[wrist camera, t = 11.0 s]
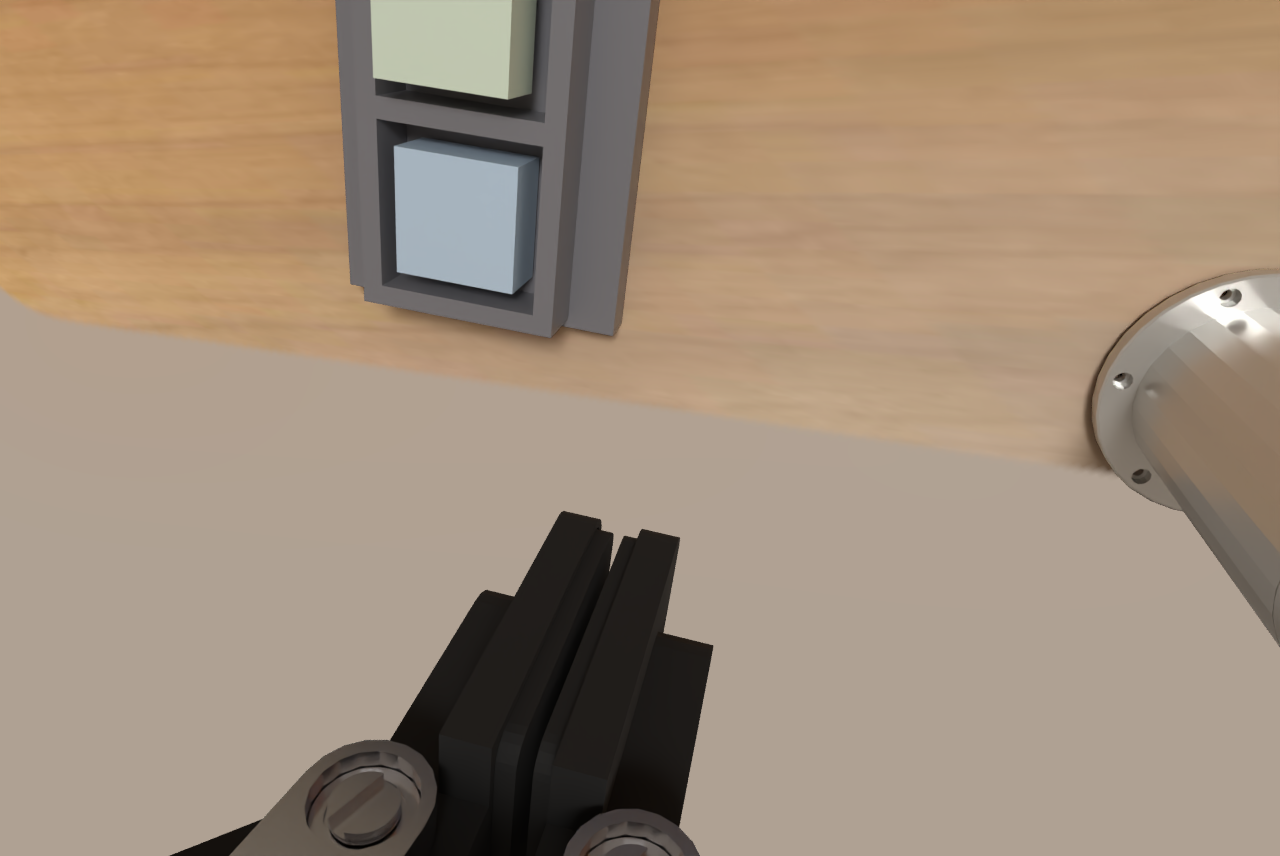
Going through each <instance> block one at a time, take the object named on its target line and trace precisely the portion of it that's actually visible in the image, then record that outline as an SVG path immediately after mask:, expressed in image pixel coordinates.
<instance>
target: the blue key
mask: <svg viewBox="0 0 1280 856" xmlns="http://www.w3.org/2000/svg"><path fill="white" fill-rule="evenodd" d="M539 158H540V157H536V156H530V155H524V154H518V153H512V152H506V151H500V150H494V149H489V148H483V147H477V146H471V145H465V144H459V143H453V142H447V141H442V140H436V139H430V138H424V137H423V138H419V139H416V140H412V141H409V142H406V143H402V144H399V145H395V146H394V171H395V212H396V254H397V272H400V273H405V274H410V275H415V276H420V277H425V278H430V279H436V280H441V281H446V282H451V283H456V284H461V285H467V286H472V287H477V288H482V289H487V290H492V291H498V292H503V293H508V294H513V293H514V292H516V291H517V290H518V289H519V288H520V287H521V286H522V285H524V284H525V283H526V282H527V281H528V280H529V279H531V278H532V276H533V259H534V242H535V225H536V209H537V192H538V175H539Z"/></svg>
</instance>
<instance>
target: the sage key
mask: <svg viewBox="0 0 1280 856" xmlns="http://www.w3.org/2000/svg"><path fill="white" fill-rule="evenodd" d="M370 1H371V30H372V59H373V78H377V79H384V80H390V81H396V82H402V83H408V84H415V85H421V86H427V87H433V88H439V89H446V90H452V91H458V92H464V93H471V94H477V95H483V96H489V97H495V98H502V99H512V98H516V97H520V96H524V95H528V94H531V93H532V78H533V60H534V41H535V22H536V3H537V0H370Z"/></svg>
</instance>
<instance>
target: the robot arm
mask: <svg viewBox="0 0 1280 856" xmlns="http://www.w3.org/2000/svg"><path fill="white" fill-rule="evenodd" d="M1226 290H1228V292H1227V294H1226V295H1225V296H1223V297H1220V295H1221V294H1222V293H1223V292H1224V291H1226ZM1120 373H1123V374H1122V376H1121V377H1119V378H1115V377H1116V375H1118V374H1120ZM1092 424H1093V428H1094V433H1095V438H1096V441H1097V443H1098V445H1099V447H1100V449H1101V451H1102V453H1103V455H1104V457H1105V459H1106V460H1107V462H1108V463H1109V465H1110V466H1111V468H1112V469H1113V471H1114V472H1115V474H1116V475H1117V476H1118V477H1119V478H1120V479H1121V480H1122V481H1123V482H1124V483H1125V484H1126V485H1127V486H1128V487H1130V488H1131V489H1132V490H1134V491H1136V492H1137V493H1139V494H1140V495H1142V496H1144V497H1146V498H1147V499H1149V500H1150V501H1153V502H1155V503H1158V504H1160V505H1163V506H1166V507H1168V508H1171V509H1174V510H1179V511H1183V512H1184V513H1185V514H1186V515H1187V517H1188V518H1189V519H1190V521H1191V522H1192V524H1193V525H1194V527H1195V528H1196V530H1197V531H1198V532H1199V534H1200V535H1201V537H1202V538H1203V539H1204V541H1205V542H1206V544H1207V545H1208V546H1209V548H1210V549H1211V551H1212V552H1213V554H1214V555H1215V556H1216V558H1217V559H1218V561H1219V562H1220V563H1221V565H1222V566H1223V568H1224V569H1225V570H1226V572H1227V573H1228V575H1229V576H1230V578H1231V579H1232V580H1233V582H1234V583H1235V585H1236V586H1237V587H1238V589H1239V590H1240V592H1241V593H1242V594H1243V596H1244V597H1245V599H1246V600H1247V602H1248V603H1249V604H1250V606H1251V607H1252V609H1253V610H1254V611H1255V613H1256V614H1257V615H1258V617H1259V618H1260V620H1261V621H1262V623H1263V624H1264V626H1265V627H1266V628H1267V630H1268V631H1269V633H1270V634H1271V635H1272V637H1273V638H1274V640H1275V641H1276V642H1277V644H1278V645H1279V647H1280V269H1255V270H1249V271H1243V272H1237V273H1231V274H1226V275H1223V276H1220V277H1217V278H1214V279H1210V280H1207V281H1204V282H1201V283H1198V284H1196V285H1194V286H1192V287H1190V288H1188V289H1185V290H1183V291H1181V292H1179V293H1177V294H1175V295H1173V296H1171V297H1169V298H1168V299H1166V300H1165V301H1163V302H1162V303H1161V304H1159V305H1158V306H1156V307H1155V308H1153V309H1152V310H1150V311H1149V312H1148V313H1146V314H1145V315H1144V316H1143V317H1142V318H1141V319H1139V320H1138V321H1137V322H1136V323H1135V324H1134V325H1133V326H1132V327H1131V328H1130V329H1129V330H1128V331H1127V332H1126V333H1125V334H1124V335H1123V336H1122V338H1121V339H1120V340H1119V342H1118V343H1117V344H1116V346H1115V347H1114V348H1113V350H1112V351H1111V352H1110V354H1109V355H1108V357H1107V359H1106V361H1105V363H1104V365H1103V367H1102V369H1101V371H1100V373H1099V375H1098V378H1097V382H1096V386H1095V390H1094V394H1093V397H1092ZM1137 470H1138V471H1137ZM601 526H602V525H601V520H600V519H596V518H591V517H587V516H583V515H579V514H574V513H570V512H566V511H563V512H561V513H560V515H559V516H558V518H557V520H556V522H555V524H554V526H553V527H552V529H551V531H550V533H549V535H548V536H547V538H546V540H545V542H544V544H543V545H542V547H541V549H540V551H539V553H538V555H537V556H536V558H535V560H534V562H533V564H532V566H531V567H530V569H529V571H528V573H527V575H526V576H525V578H524V580H523V582H522V584H521V586H520V587H519V590H518V591H517V593H516V595H515V596H514V597H513V596H509V595H505V594H501V593H497V592H492V591H488V590H485V591H484V592H482V593H481V594H480V595H479V597H478V598H477V599H476V601H475V602H474V604H473V606H472V607H471V609H470V611H469V612H468V614H467V615H466V617H465V619H464V620H463V622H462V624H461V625H460V627H459V629H458V630H457V632H456V633H455V635H454V637H453V638H452V640H451V641H450V643H449V645H448V646H447V648H446V650H445V651H444V653H443V655H442V656H441V658H440V659H439V661H438V663H437V665H436V666H435V668H434V669H433V671H432V673H431V674H430V676H429V678H428V679H427V681H426V682H425V684H424V686H423V687H422V689H421V691H420V692H419V694H418V695H417V697H416V699H415V700H414V702H413V704H412V705H411V707H410V709H409V710H408V712H407V713H406V715H405V717H404V718H403V720H402V722H401V723H400V725H399V726H398V728H397V730H396V731H395V733H394V735H393V736H392V738H391V740H390V741H389V740H364V741H361V742H356V743H352V744H349V745H344V746H342V747H341V748H338V749H336V750H335V751H333V752H331V753H329V754H327V755H325V756H323V757H322V758H321V759H320V760H319V761H317V762H316V763H315V764H314V765H313V766H312V767H310V768H309V769H308V770H307V771H306V772H305V773H304V774H303V775H302V776H301V777H300V778H299V780H298V781H297V782H296V783H295V784H294V785H293V786H292V787H291V788H290V789H289V791H288V792H287V793H286V794H285V795H284V796H283V797H282V798H281V799H280V801H279V802H278V803H277V804H276V805H275V806H274V807H273V808H272V809H271V810H270V811H269V813H268V814H267V815H266V816H265V817H264V818H263V819H261V820H259V821H256V822H254V823H251V824H249V825H247V826H244V827H241V828H239V829H236V830H234V831H232V832H229V833H226V834H223V835H221V836H219V837H216V838H214V839H211V840H209V841H206V842H203V843H201V844H198V845H196V846H193V847H191V848H188V849H185V850H183V851H180V852H178V853H175V854H173V855H170V856H700V855H699V853H698V851H697V849H696V847H695V845H694V843H693V842H692V841H691V840H690V839H689V838H688V836H687V835H686V834H685V833H684V832H683V831H682V830H681V829H680V828H679V825H680V820H681V814H682V809H683V804H684V799H685V793H686V788H687V783H688V777H689V772H690V767H691V761H692V756H693V751H694V746H695V741H696V735H697V730H698V725H699V720H700V714H701V709H702V704H703V699H704V693H705V688H706V683H707V677H708V672H709V667H710V662H711V656H712V651H713V645H709V644H705V643H701V642H697V641H693V640H689V639H685V638H680V637H677V636H673V635H669V634H664V633H663V632H664V626H665V621H666V615H667V610H668V604H669V599H670V593H671V587H672V582H673V576H674V571H675V565H676V560H677V554H678V549H679V542H680V538H679V537H675V536H670V535H666V534H662V533H658V532H653V531H649V530H644V529H642V530H641V531H640V533H639V536H638V538H632V537H628V536H624V537H623V539H622V542H621V544H620V547H619V549H618V552H617V554H616V557H615V559H614V562H613V564H612V566H611V569H610V561H611V553H612V546H613V533H611V532H606V531H602V530H601ZM609 569H610V571H609Z"/></svg>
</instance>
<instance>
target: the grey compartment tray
mask: <svg viewBox="0 0 1280 856" xmlns="http://www.w3.org/2000/svg"><path fill="white" fill-rule="evenodd" d="M335 1H336V19H337V38H338V57H339V76H340V95H341V113H342V132H343V151H344V170H345V189H346V208H347V226H348V245H349V264H350V283H351V284H352V285H357V286H362V287H364V301H368V302H373V303H378V304H383V305H388V306H393V307H398V308H403V309H408V310H413V311H418V312H423V313H428V314H433V315H438V316H443V317H448V318H453V319H458V320H463V321H468V322H473V323H478V324H483V325H488V326H493V327H498V328H503V329H508V330H513V331H518V332H523V333H528V334H533V335H538V336H543V337H548V338H551V337H552V336H553V335H554V334H555V333H556V332H557V331H558V329H559V328H560V327H561V326H565V327H570V328H575V329H580V330H585V331H590V332H595V333H600V334H605V335H610V336H613V335H614V334H615V332H616V331H617V329H618V328H619V326H620V325H621V323H622V315H623V307H624V298H625V290H626V281H627V273H628V265H629V256H630V248H631V239H632V231H633V222H634V214H635V205H636V197H637V189H638V180H639V172H640V163H641V155H642V146H643V138H644V129H645V121H646V112H647V104H648V96H649V87H650V79H651V70H652V62H653V53H654V45H655V36H656V28H657V20H658V11H659V3H660V0H537V3H536V22H535V41H534V60H533V78H532V93H531V94H528V95H524V96H520V97H516V98H512V99H502V98H495V97H489V96H483V95H477V94H471V93H464V92H458V91H452V90H446V89H439V88H433V87H427V86H421V85H415V84H408V83H402V82H396V81H390V80H384V79H377V78H373V59H372V30H371V1H370V0H335ZM423 137H424V138H430V139H436V140H442V141H447V142H453V143H459V144H465V145H471V146H477V147H483V148H489V149H494V150H500V151H506V152H512V153H518V154H524V155H530V156H536V157H540V158H539V175H538V192H537V209H536V225H535V242H534V259H533V276H532V278H531V279H529V280H528V281H527V282H526V283H525V284H524V285H522V286H521V287H520V288H519V289H518V290H517V291H516V292H514V293H513V294H508V293H503V292H498V291H492V290H487V289H482V288H477V287H472V286H467V285H461V284H456V283H451V282H446V281H441V280H436V279H430V278H425V277H420V276H415V275H410V274H405V273H400V272H397V254H396V212H395V171H394V146H395V145H399V144H402V143H406V142H409V141H412V140H416V139H419V138H423Z"/></svg>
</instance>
